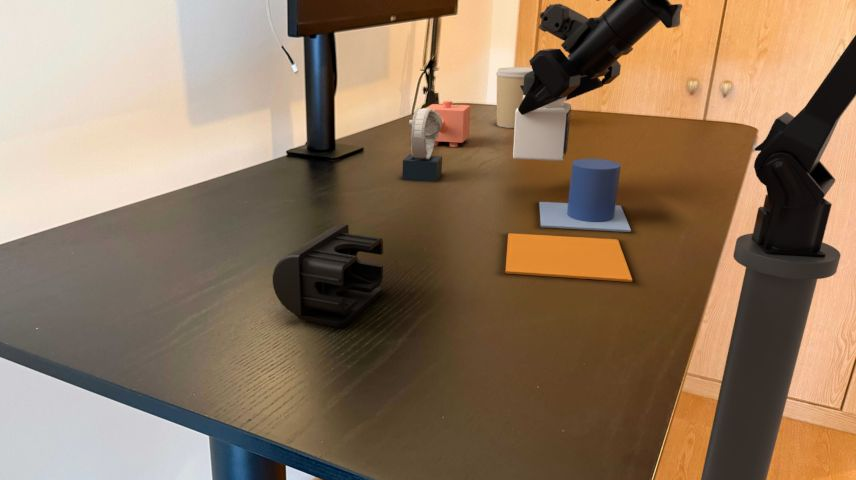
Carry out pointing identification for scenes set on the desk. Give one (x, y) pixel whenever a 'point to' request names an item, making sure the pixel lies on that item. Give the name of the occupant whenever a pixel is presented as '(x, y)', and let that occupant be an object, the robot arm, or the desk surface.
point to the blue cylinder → (593, 190)
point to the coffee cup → (509, 94)
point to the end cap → (329, 278)
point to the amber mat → (566, 257)
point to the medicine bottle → (542, 129)
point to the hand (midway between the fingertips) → (534, 108)
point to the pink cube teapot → (452, 122)
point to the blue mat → (558, 218)
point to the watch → (423, 147)
